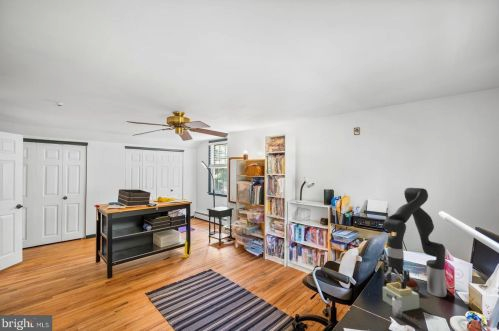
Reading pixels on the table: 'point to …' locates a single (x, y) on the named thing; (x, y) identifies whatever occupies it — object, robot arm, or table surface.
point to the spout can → (397, 307)
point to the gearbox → (401, 296)
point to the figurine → (411, 284)
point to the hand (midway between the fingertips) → (396, 284)
